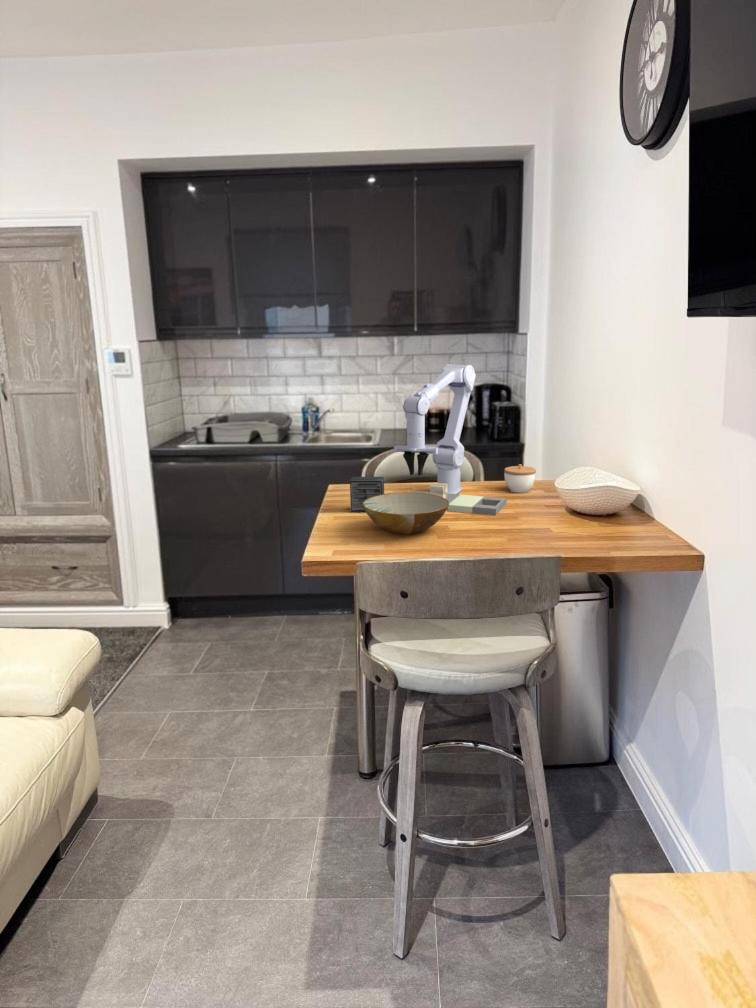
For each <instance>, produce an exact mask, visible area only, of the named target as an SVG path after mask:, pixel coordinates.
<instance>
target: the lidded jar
mask: <svg viewBox="0 0 756 1008" xmlns="http://www.w3.org/2000/svg"><path fill="white" fill-rule="evenodd" d="M536 471H537V469H536V468H534V467H531V466H526V465H525V466H524V465H522V464H520V463H519V464H518V465H512V466H508V467H505V468H504V481H505V486H507V488H508V489H509V490H510V492H512V493H516V492H517V493H518V494H519V493H520V494H521V493H522V494H524V493H528V492H529V490H530V489H531V488H532V487H533V486H534V484H535V481H536Z"/></svg>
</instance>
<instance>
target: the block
mask: <svg viewBox="0 0 756 1008" xmlns="http://www.w3.org/2000/svg"><path fill="white" fill-rule="evenodd" d="M429 492H430V494H432V495H436V496H440V497H443V498H445V499H446V498H447V484H442V483H438V482H433V483H432V484H431V485H429Z"/></svg>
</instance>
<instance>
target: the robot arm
mask: <svg viewBox="0 0 756 1008" xmlns="http://www.w3.org/2000/svg"><path fill="white" fill-rule="evenodd" d="M475 372H476V370H475V369H474V366H472V365H471V364H465V365H464V364H450V363H448V364H446V365H445V366H444V367H442V369H441V373H440V374H439V376H437V378H436V379H435V380H434V381H433V382H431V383H430V382H429V383H425V384H423V386H422V387H421V388H420V389H419V390H418V391H416V392H415V393H414V395H409V396H407V397H406V398H405V399H404V401H403V405H402V408H403V409H402V410H403V412H404V416H405V419H406V443H407V444H406V445H399V444H397V445H394V447H393V451H394V453H403V454H402V457H403V458H404V461H405V463H406V465H407V468H408V472H409V475H410V476H412V475H414V474H415V456H416V458H417V475H418V476H422V475H423V470H424V468H425V465H426V462H427V459H428V457H429V456H430V455H432V462H433V464H435V467H436V468H437V483H442V484H447V494H460V493H459V492H461V491H462V490H464V488H463V487H461V469H460V468H461V466H462V465H463V463H464V459H465V456H464V455H465V447H464V445H463V444H462V443H461V442H460V439H461V435H462V430H463V426H464V422H465V418H466V413H467V410H468V405H469V401H470V397H471V394H472V393H471V392H472V391H473V388H474V385H475V380H476V376H477V375H476V373H475ZM446 387H448V388H449V390H451V391H452V392H453V394H454V395H453V398H452V402H451V403H452V404H451V407H450V412H449V415H448V420H447V424H446V429H445V433H444V436H443V438H442V439H440V440H438V441H437V442H436V445H435V446H429V445H426V441H425V438H426V436H425V433H426V432H425V430H426V429H425V428H426V427H425V422H426V420H425V419H426V417H425V415H426V414H427V413H428V410H429V408H430V407H431V404H433V402H435V400H436V399H438V398H439V397H440V396H439V395H440V391H442V390H443V389H445V388H446Z"/></svg>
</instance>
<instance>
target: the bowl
mask: <svg viewBox="0 0 756 1008" xmlns="http://www.w3.org/2000/svg"><path fill="white" fill-rule="evenodd" d="M411 492H412V491H411ZM411 492H408V491H407V492H391V493H384V494H382V495H377V496H373V497H370V498H368V499H366V500H364V501H363V503H362V506H363V508H364V510H365V511H366V512H365V513H366V515H368V517H369V519H370V520H371V521H372V522H373V523H375V524H376V525H377V526H378V527H380V528H382V529H384V530H385V531H387V532H389V533H391V534H394V535H395V534H396V535H405V536H406V535H408V536H409V535H417V534H420V532H421V533H423V532H424V531H426V530H428V529H429V528H431V527H433V526H434V525H435V524H437V523H438V521H440V520H441V519H442V517H443V516H444V515H445V514H446V512H447V511H446V510H447V508H448V506H449V501H448V500H447V499H445V498H443V497H440V496H436V495H432V494H425V493H411Z"/></svg>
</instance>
